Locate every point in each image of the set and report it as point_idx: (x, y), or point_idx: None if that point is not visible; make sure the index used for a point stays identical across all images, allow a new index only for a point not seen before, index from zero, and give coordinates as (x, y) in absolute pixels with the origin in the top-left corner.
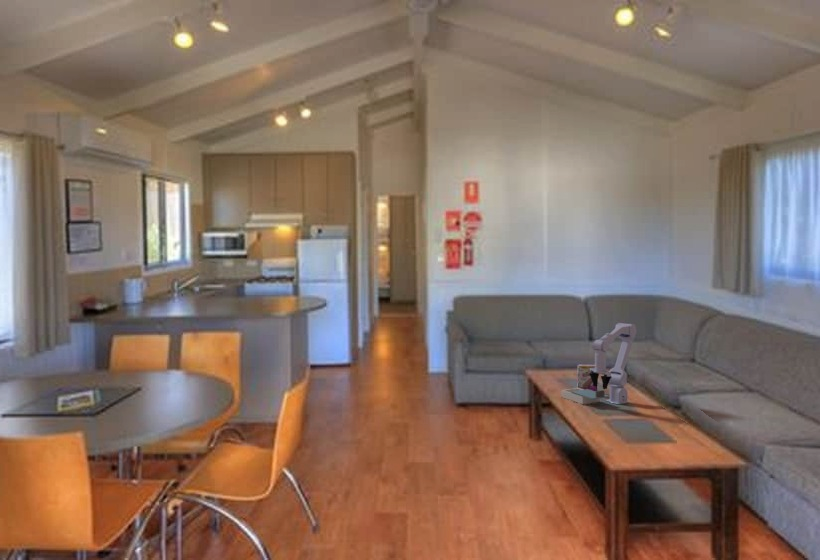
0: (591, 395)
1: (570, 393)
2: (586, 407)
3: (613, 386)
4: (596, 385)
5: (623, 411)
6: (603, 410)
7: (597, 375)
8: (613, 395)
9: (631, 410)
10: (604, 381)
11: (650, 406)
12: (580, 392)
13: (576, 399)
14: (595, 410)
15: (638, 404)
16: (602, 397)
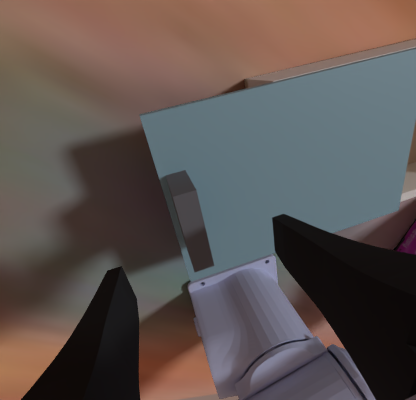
0: (239, 156)
1: (412, 46)
2: (169, 70)
3: (264, 356)
4: (276, 247)
5: (22, 267)
6: (58, 156)
7: (365, 362)
8: (239, 304)
9: (47, 311)
10: (48, 376)
11: None
12: (359, 113)
13: (320, 63)
14: (63, 94)
15: (168, 358)
16: (172, 221)
